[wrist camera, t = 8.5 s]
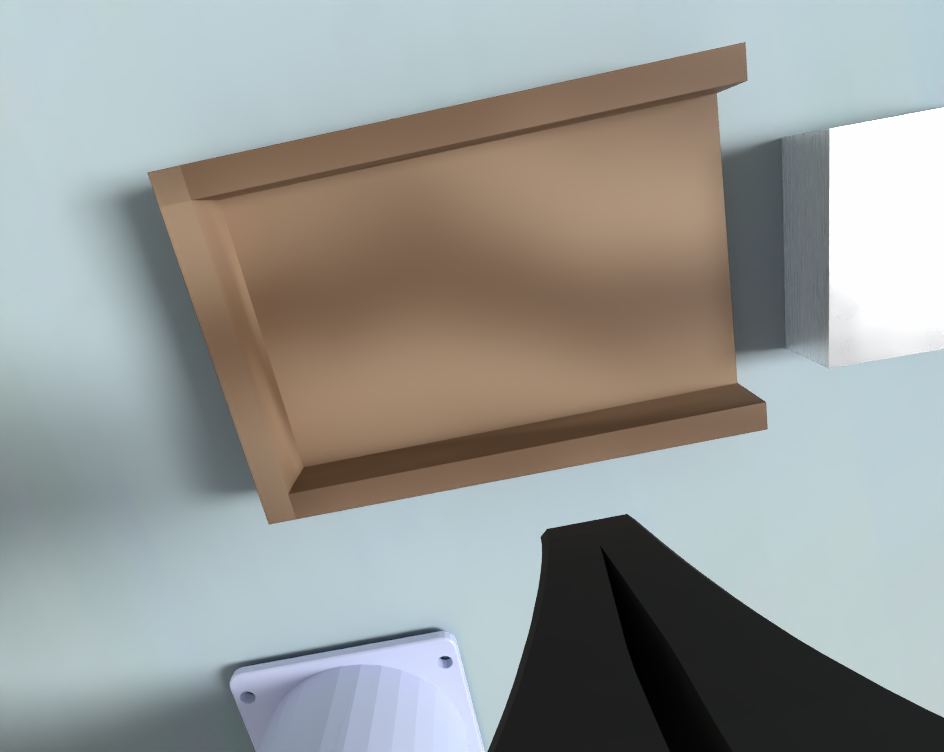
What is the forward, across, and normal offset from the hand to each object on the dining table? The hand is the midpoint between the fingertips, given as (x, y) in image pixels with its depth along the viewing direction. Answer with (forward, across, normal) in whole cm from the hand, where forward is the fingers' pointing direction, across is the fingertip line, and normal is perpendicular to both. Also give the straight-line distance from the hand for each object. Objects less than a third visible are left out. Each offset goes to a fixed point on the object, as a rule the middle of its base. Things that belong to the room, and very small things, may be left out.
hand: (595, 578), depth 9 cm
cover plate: (+10, -10, -2) cm, 15 cm away
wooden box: (+9, +1, -3) cm, 10 cm away
